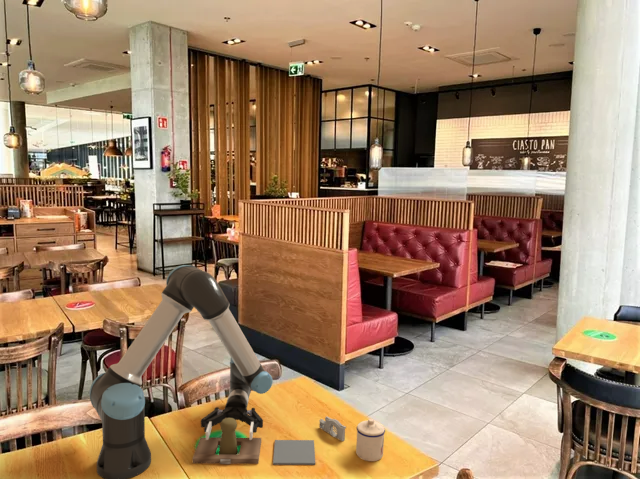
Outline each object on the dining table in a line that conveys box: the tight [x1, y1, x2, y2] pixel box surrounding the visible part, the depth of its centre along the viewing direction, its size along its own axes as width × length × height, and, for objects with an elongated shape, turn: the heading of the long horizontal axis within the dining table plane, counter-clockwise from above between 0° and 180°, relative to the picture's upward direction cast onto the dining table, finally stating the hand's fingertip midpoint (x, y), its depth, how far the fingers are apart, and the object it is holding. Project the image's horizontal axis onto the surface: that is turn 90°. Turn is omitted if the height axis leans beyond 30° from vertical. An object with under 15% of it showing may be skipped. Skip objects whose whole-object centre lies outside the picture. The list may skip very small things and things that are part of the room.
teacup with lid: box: [355, 418, 386, 462], centre depth 155 cm, size 12×9×12 cm
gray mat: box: [272, 439, 316, 466], centre depth 153 cm, size 13×13×1 cm
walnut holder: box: [192, 436, 262, 465], centre depth 152 cm, size 20×13×2 cm, turn 93°
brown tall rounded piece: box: [218, 418, 239, 455], centre depth 152 cm, size 6×6×11 cm
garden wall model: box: [318, 416, 347, 442], centre depth 165 cm, size 12×2×6 cm, turn 42°
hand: (228, 436), depth 150 cm, fingers open, 13 cm apart
